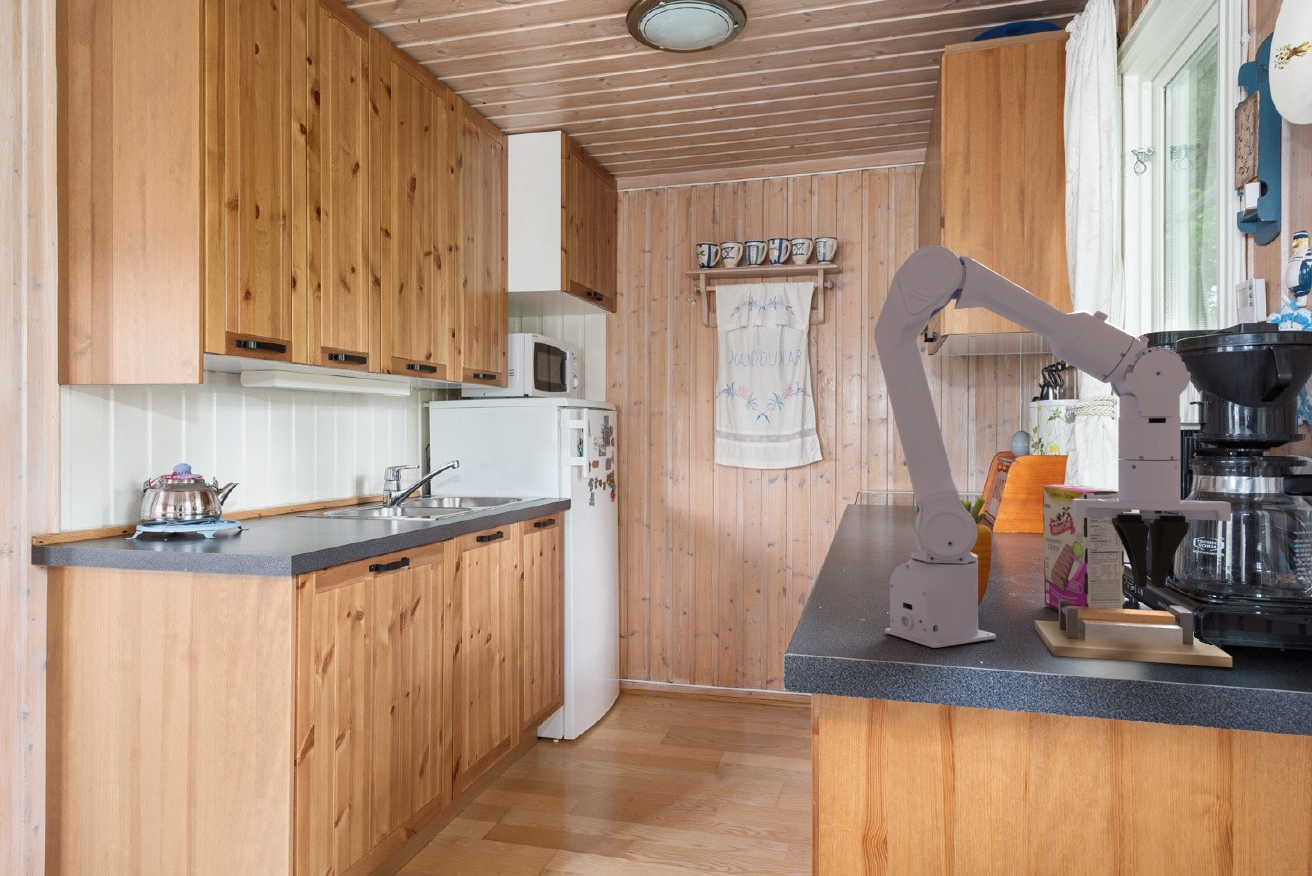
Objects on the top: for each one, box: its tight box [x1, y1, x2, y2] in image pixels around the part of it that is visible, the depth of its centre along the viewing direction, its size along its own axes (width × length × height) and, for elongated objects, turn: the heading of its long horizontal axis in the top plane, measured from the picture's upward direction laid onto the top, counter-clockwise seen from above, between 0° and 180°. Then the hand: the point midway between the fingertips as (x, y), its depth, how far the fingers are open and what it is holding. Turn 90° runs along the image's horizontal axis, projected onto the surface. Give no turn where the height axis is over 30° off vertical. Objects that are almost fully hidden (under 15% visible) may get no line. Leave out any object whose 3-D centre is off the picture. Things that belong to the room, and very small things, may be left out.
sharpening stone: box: [1058, 599, 1195, 648], centre depth 86 cm, size 12×7×3 cm, turn 73°
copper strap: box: [1061, 605, 1175, 624], centre depth 87 cm, size 10×2×1 cm, turn 73°
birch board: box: [1034, 619, 1233, 668], centre depth 86 cm, size 16×12×1 cm
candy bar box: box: [1042, 484, 1126, 612], centre depth 101 cm, size 11×5×16 cm, turn 179°
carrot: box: [960, 497, 993, 608], centre depth 104 cm, size 5×5×15 cm
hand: (1149, 585), depth 86 cm, fingers closed
